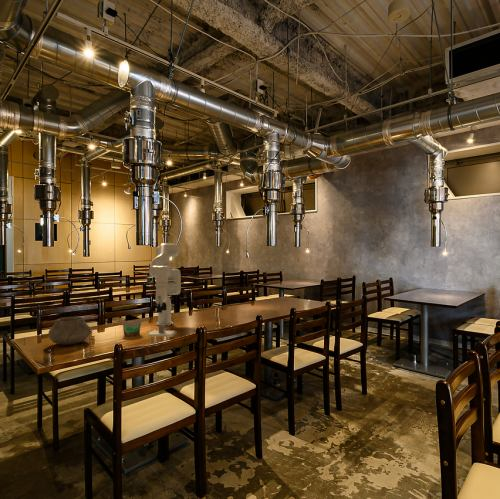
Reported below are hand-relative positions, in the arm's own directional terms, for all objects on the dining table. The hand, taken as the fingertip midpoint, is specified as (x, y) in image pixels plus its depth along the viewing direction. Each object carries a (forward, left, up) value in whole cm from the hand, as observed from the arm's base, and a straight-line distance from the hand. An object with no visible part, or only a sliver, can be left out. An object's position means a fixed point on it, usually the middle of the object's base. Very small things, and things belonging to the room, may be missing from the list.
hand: (161, 311), depth 215 cm
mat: (0, 0, -16) cm, 16 cm away
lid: (0, 0, -15) cm, 15 cm away
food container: (+5, -18, -16) cm, 24 cm away
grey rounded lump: (+22, -48, -16) cm, 55 cm away
